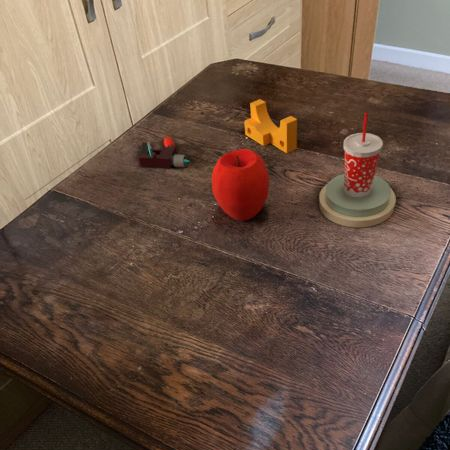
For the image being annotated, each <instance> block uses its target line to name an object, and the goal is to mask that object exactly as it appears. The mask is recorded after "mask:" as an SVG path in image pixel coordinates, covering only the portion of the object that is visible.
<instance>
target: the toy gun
mask: <svg viewBox="0 0 450 450" xmlns="http://www.w3.org/2000/svg"><path fill="white" fill-rule="evenodd" d="M163 145H164V149H163V148H162V149H161V148H157V149H156V148H152V144H151V143H150V141H147V142H141V146H140V151H139V152H138V153H137V154H136V159H137V162H138V165H139V167H142V168H143V167H144V168H162V169H171V168H172V167H174V168H186V167H187V165H188V163H190V162H191V161H190V160H189V159H188V158H187V157H188V156H187V154H178V150H177V145H175V142H174V139H173V138H172V137H171V136H167V137H165V138H164V140H163Z"/></svg>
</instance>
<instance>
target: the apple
mask: <svg viewBox="0 0 450 450" xmlns="http://www.w3.org/2000/svg"><path fill="white" fill-rule="evenodd" d="M266 166H267V165H266V163H265V161H264V160H263V157H262V156H261V155H260V154H258V153H257V152H255V151H253V150H250V149H248V148H241V149H236V150H233V151H229V152H227V153H224V154H223V155H222V156H221V157H219V158H218V160H217V162H216V164H215V165H214V168H213V170H212V174H211V187H212V194H213V197H214V199H215V200H216V202H217V205H218V206H219V207H220V209H222V210H223V212H224V213H225V214H226V215H228V216H229V217H230V218H232V219H234V220H236V221H240V222H244V221H249V220H251V219H253V218H254V217H255V216H257V214H258V213H259V212H260V211H262V208H263V207H264V206H265V204H266V201H267V199H268V196H269V188H270V177H269V173H268V169H267V167H266Z"/></svg>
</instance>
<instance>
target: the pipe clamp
mask: <svg viewBox="0 0 450 450" xmlns="http://www.w3.org/2000/svg"><path fill="white" fill-rule="evenodd" d="M249 104H250V105H249V106H250V118H247V119H245V120H244V135H245V136H247V137H248V138H250V139H252V140H253V141H255V142H256V143H258V144H260V145H261V146H262V147H265V146H267V145H269V144H271V145H272V146H274V147H276V148H277V149H279V150H280V151H282V152H284V153H285V154H289V153H291V152H293V151H296V150H297V148H298V118H296V117H294V116H292V115H289V116H288V117H285V118H283V119H281V120H280V123H279V126H277V125H276V124H275V123H274V122H273V121H272V118H271V117H270V115H269V112H268V108H267V102H266V101H265V100H262V99H260V98H259V99H257V100H254V101H252V102H249Z"/></svg>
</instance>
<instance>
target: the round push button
mask: <svg viewBox="0 0 450 450" xmlns="http://www.w3.org/2000/svg"><path fill="white" fill-rule="evenodd" d="M318 196H319V197H318V207H319V210H320V212H321V214H322V215H323V216H324V217H325V218H326V219H327V220H328V221H330V222H332V223H334V224H337V225H339V226H342V227H343V226H344V227H347V228H357V229H358V228H369V227H370V228H371V227H374V226H377V225H380V224H382V223H384V222H386V221H387V220H388V219H389V218H390V217H391V216H392V215H393V213H394V212H395V208H396V207H395V206H396V201H397V199H396V197H397V196H396V194H395V192H394V190H393V189H392V188H391V185H390V184H389V183H388V182H387V181H386V180H385V179H384V178H381V176H378V175H376V174H375V175H374V180H373V184H372V189H371V192H370V194H368V195H367V196H364V197H351V196H349V195H347V194H346V193H345V192H344V173H342V174H338V175H336V176H334V177H333V178H331V179H330V180H329V181H328V182H327V184H325V185H324V186H323V187H322V189H321V190H320V192H319V195H318Z"/></svg>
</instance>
